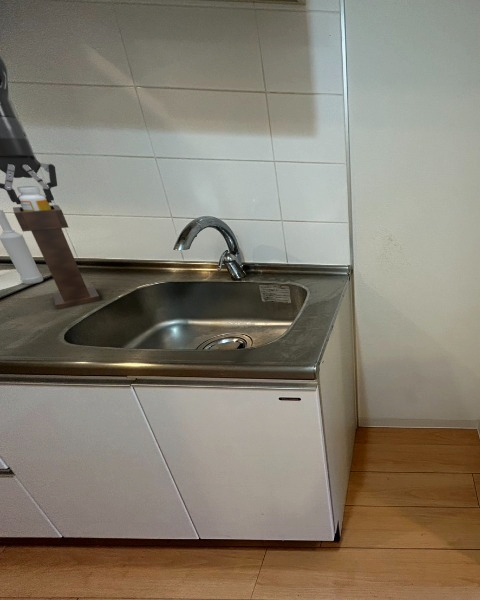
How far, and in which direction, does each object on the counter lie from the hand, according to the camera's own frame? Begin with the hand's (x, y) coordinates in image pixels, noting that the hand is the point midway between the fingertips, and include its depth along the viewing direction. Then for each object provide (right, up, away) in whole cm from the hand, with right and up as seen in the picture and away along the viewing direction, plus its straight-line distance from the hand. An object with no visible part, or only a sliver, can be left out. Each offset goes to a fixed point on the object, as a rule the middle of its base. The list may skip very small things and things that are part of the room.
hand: (34, 202), depth 87 cm
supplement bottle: (0, -5, +2) cm, 6 cm away
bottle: (-28, -21, +23) cm, 41 cm away
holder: (-2, -28, +14) cm, 31 cm away
